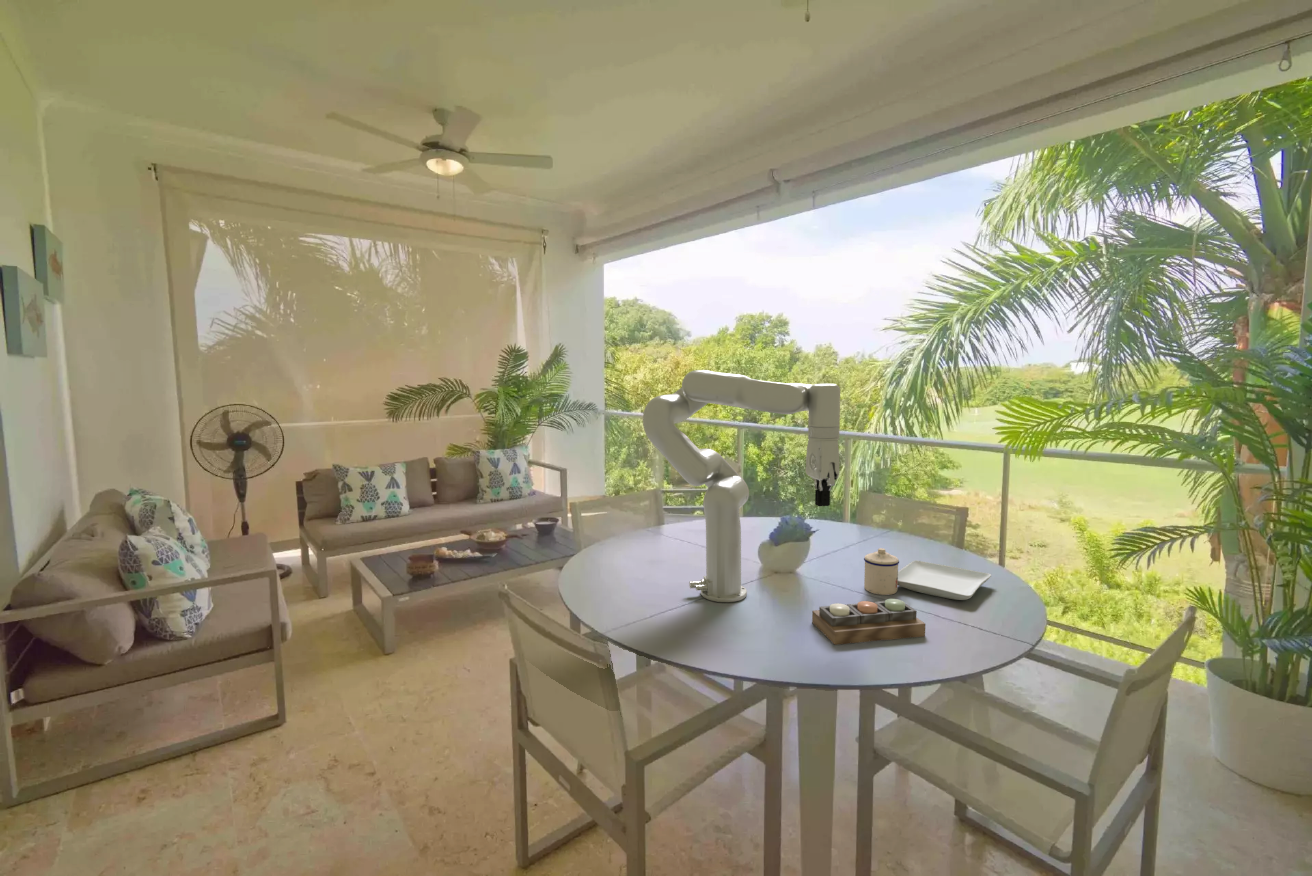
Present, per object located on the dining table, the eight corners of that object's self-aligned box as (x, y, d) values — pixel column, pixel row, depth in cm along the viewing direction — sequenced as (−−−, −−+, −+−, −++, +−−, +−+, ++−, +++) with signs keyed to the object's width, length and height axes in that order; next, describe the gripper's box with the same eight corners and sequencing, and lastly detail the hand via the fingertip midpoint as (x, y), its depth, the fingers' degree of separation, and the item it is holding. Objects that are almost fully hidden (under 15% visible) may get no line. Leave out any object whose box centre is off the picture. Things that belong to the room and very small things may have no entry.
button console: (834, 644, 130) (835, 623, 130) (812, 622, 142) (812, 602, 142) (925, 636, 134) (925, 615, 133) (895, 615, 146) (896, 595, 145)
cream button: (834, 621, 134) (835, 611, 134) (826, 614, 138) (826, 604, 138) (852, 620, 135) (853, 610, 135) (843, 612, 139) (843, 602, 139)
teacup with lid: (904, 595, 159) (905, 553, 157) (871, 596, 158) (872, 554, 157) (884, 579, 171) (885, 540, 169) (854, 580, 170) (854, 541, 169)
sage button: (891, 616, 136) (891, 606, 136) (881, 609, 141) (881, 599, 140) (908, 615, 137) (908, 605, 137) (898, 607, 141) (898, 598, 141)
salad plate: (887, 588, 163) (887, 576, 163) (914, 569, 179) (914, 558, 179) (970, 608, 149) (970, 595, 149) (992, 585, 165) (992, 573, 164)
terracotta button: (863, 619, 135) (863, 609, 135) (853, 611, 140) (854, 601, 139) (880, 617, 136) (881, 607, 136) (871, 610, 140) (871, 600, 140)
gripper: (797, 430, 153) (796, 499, 155) (822, 437, 138) (821, 513, 140) (824, 430, 154) (823, 498, 156) (852, 436, 139) (850, 511, 141)
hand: (822, 505), depth 148 cm, fingers closed
